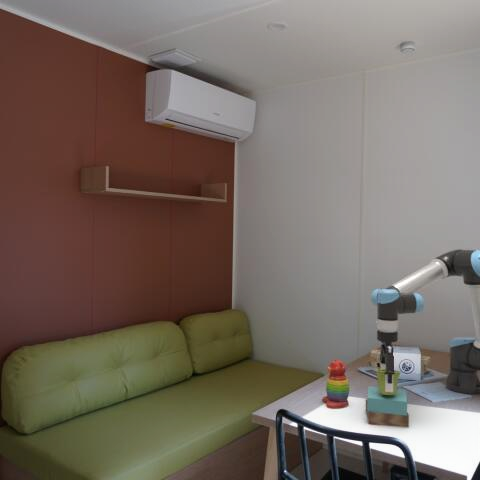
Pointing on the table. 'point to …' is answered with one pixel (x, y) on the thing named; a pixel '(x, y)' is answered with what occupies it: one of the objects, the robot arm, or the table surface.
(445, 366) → the table surface
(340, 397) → the stacking bear
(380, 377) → the plant pot
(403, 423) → the tower base
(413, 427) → the table surface
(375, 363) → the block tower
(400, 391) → the tower top
